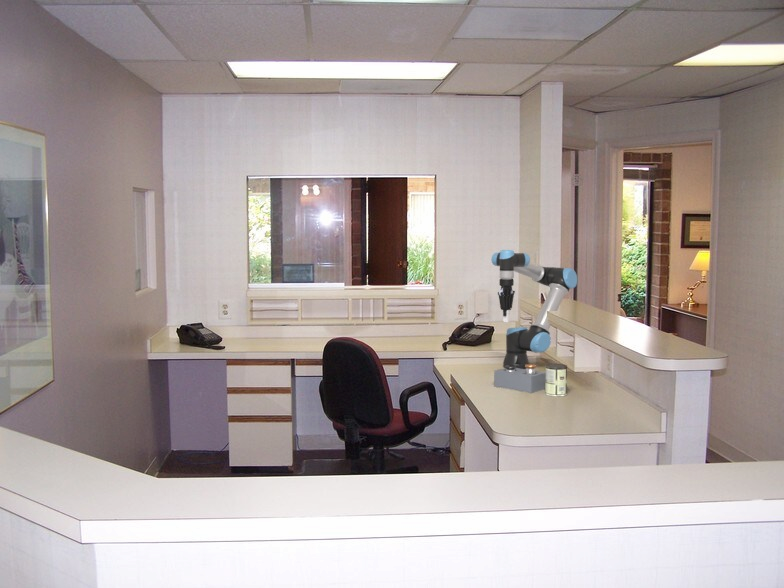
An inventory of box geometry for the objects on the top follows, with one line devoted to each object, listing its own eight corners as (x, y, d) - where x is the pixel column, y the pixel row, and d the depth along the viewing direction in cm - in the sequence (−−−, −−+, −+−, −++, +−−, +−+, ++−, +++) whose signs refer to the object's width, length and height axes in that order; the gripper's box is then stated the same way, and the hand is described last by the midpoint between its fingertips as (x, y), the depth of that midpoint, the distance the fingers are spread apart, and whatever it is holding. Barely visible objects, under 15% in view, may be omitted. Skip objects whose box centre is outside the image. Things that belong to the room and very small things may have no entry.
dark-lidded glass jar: (509, 381, 367) (509, 364, 366) (517, 382, 363) (517, 366, 362) (503, 382, 363) (503, 366, 362) (511, 384, 359) (511, 367, 358)
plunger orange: (528, 380, 358) (529, 363, 357) (537, 381, 354) (538, 364, 354) (523, 381, 354) (523, 364, 354) (532, 383, 351) (532, 366, 350)
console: (510, 382, 371) (510, 367, 371) (546, 388, 356) (546, 372, 356) (494, 386, 361) (494, 370, 361) (531, 393, 346) (531, 376, 346)
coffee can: (551, 390, 351) (552, 362, 350) (570, 394, 344) (571, 365, 343) (540, 394, 343) (541, 365, 342) (559, 397, 336) (560, 368, 335)
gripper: (507, 277, 392) (507, 320, 394) (493, 278, 382) (493, 322, 385) (519, 278, 387) (518, 321, 389) (505, 279, 377) (504, 323, 379)
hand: (506, 321), depth 387 cm, fingers closed
